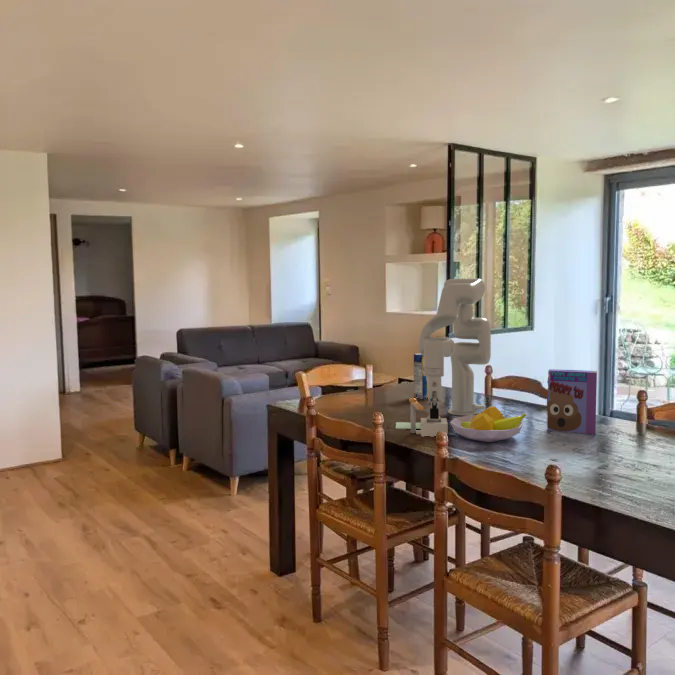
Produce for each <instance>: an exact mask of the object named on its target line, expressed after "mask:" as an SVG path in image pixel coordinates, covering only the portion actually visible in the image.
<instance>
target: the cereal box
mask: <svg viewBox="0 0 675 675" xmlns="http://www.w3.org/2000/svg"><path fill="white" fill-rule="evenodd" d="M547 372H548V373H547V374H548V377H547V429H546V430H547V432H549V433H550V432H552V433H565V434H567V433H568V434H578V433H579V434H581V435H592V434H593V436H595V435H596V426H597V423H596V422H597V420H596V419H597V389H598V388H597V384H598V382H597V381H598V380H597V379H598V371H597V370H583V369H582V370H581V369H579V370H578V369H577V370H576V369H575V370H574V369H555V368H549V369H548V371H547Z"/></svg>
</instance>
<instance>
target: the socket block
mask: <svg viewBox="0 0 675 675" xmlns="http://www.w3.org/2000/svg"><path fill="white" fill-rule="evenodd" d="M416 410H417V408H416V407H415V406H413V405H412V404H411V403H410V422H411V430H410V434H411V433H416V434H415V435H420V436H421V437H424V436H430V437H431V438H433V437H434V436H436V434H437V432H439V431H443V432H446V433H447V434H448V435H449V433H448V432H449V430H448V429H449V426H448V425H449V424H448V419H447V418H446V417H440V420H439V422H429V420H428V419H427V417H420V425H421V430H416V423H417V415H416V414H417V411H416ZM434 438H435V437H434Z"/></svg>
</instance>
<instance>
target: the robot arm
mask: <svg viewBox="0 0 675 675" xmlns="http://www.w3.org/2000/svg"><path fill="white" fill-rule="evenodd" d="M485 291H486V285H485V282H484V280H482V279H481V278H450V279H447V280H445V281H444V284H443V287H442V290H441V293H440V298H439V303H438V307H437V311H436V314H435V315H434V316H433V317H431V318H430V319H429V320H428V321H427V322H426V323H425V324H424V325H423V328H422V329H421V332H420V337H419V340H418V352H419V354H421V355H423V356H424V376H426V377H427V390H428V399H427V400H428V402H429V405H431V408H430V419H438V418H439V416H440V407H439V408H438V405H439V403H442V399H443V398H442V377H444V376H445V372H444V371H445V368H444V367H445V366H444V364H445V358H449V357H450V362H451V408H449V409H448V410H447V411H448V414H449V415H453V416H457V417H463V416H469V415H477V414H478V410H482V411H484V410H485V405H484V404H482V405H481V404H475V401H474V400H475V394H474V393H475V392H474V391H475V373H474V371H473V369H472V368H471V366H470V365H477V366H479V365H482V366H483V365H487V364H489V362H490V361H491V356H492V355H491V354H492V353H491V350H492V346H491V345H492V343H491V340H492V339H491V338H492V334H491V333H492V330H491V324H490V321H489V320H488V319H487V318H485V317H474V306H473V305H474V304H476V303H477V302H479V301H480V300H481V299H482V298H483V297H484V295H485ZM450 325H453V326H452V328H453V331H452V332H453V335H454V337H455V338H456V339H460V340H476V341H478V342H471V341H467V342H466V341H458V342H454V340H453V339H452V338H449V337H434V336H433V334H434V333H435V332H436V331H438V330H441V329H443V328H446V327H448V326H450ZM431 336H433V337H431ZM429 405H428V406H429Z"/></svg>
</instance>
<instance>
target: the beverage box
mask: <svg viewBox="0 0 675 675" xmlns="http://www.w3.org/2000/svg"><path fill="white" fill-rule="evenodd" d="M414 397H418V398H421V399H420V400H422V399H424V400H427V399H426V398H428V390H427V377H426V376H424V356H423V355H421V354H420V353H413V398H414Z"/></svg>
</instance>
